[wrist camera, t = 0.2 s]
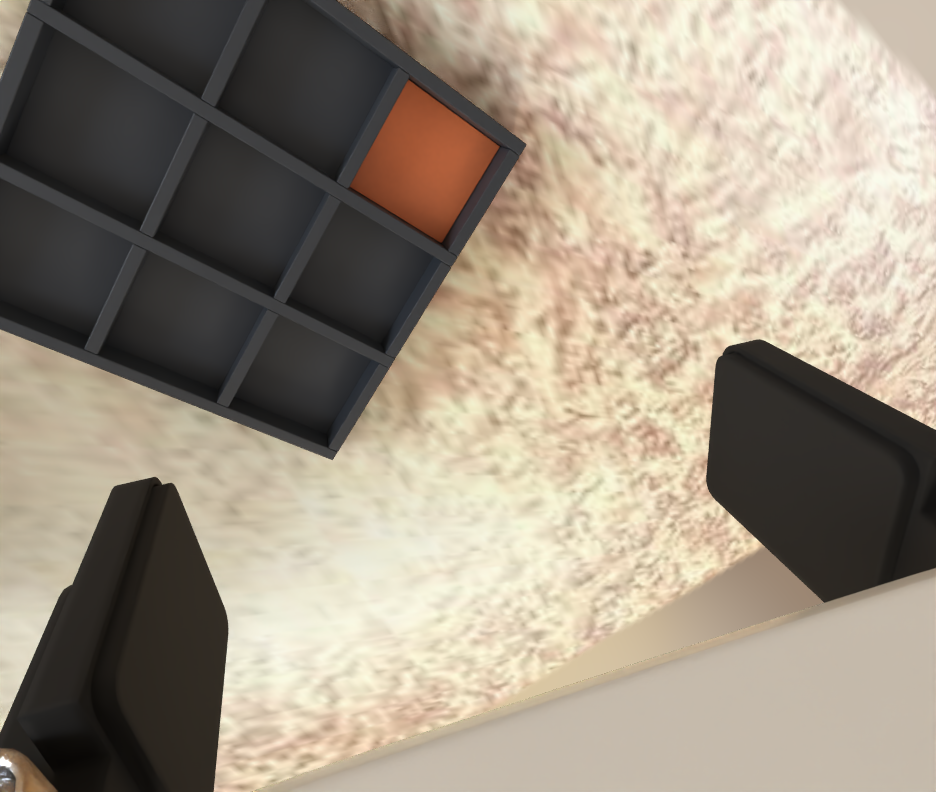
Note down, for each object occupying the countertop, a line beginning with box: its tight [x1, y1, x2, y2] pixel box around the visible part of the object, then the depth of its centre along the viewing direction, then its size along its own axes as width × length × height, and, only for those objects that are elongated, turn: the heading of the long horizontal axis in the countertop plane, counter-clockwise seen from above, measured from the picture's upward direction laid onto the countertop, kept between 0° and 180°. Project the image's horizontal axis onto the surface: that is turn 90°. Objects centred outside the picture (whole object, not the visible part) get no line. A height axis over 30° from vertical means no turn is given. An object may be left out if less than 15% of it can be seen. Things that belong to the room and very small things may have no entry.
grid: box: [0, 0, 526, 460], centre depth 33 cm, size 22×22×2 cm
